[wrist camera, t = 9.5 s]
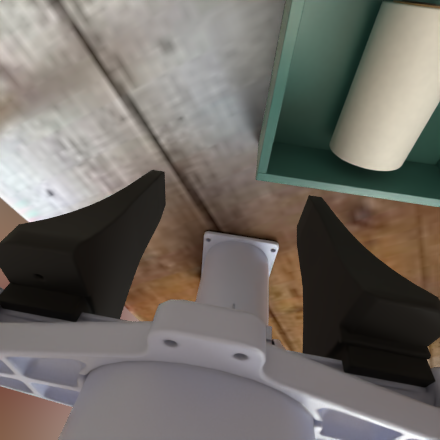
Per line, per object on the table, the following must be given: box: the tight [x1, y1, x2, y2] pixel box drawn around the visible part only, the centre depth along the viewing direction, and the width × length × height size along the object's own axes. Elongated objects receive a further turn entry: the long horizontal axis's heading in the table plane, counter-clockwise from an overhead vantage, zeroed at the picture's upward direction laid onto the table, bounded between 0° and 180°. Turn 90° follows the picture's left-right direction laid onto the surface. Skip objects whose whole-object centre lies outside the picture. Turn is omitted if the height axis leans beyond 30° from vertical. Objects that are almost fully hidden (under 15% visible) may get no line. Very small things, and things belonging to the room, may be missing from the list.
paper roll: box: [330, 0, 440, 171], centre depth 17 cm, size 8×5×5 cm
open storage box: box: [256, 0, 440, 207], centre depth 17 cm, size 11×14×6 cm
